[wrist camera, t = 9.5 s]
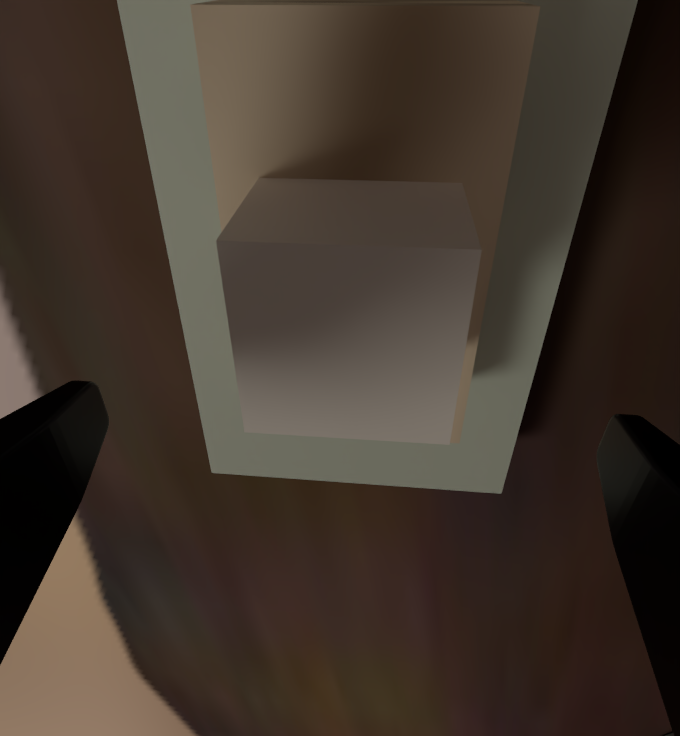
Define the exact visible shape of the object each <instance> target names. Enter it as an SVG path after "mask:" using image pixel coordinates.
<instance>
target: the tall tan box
mask: <svg viewBox="0 0 680 736" xmlns="http://www.w3.org/2000/svg"><path fill="white" fill-rule="evenodd" d="M190 7H191V14H192V21H193V28H194V36H195V43H196V50H197V58H198V65H199V72H200V80H201V87H202V94H203V101H204V109H205V116H206V123H207V131H208V138H209V145H210V152H211V160H212V167H213V174H214V182H215V189H216V196H217V204H218V211H219V218H220V225H221V232H222V231H223V230H224V228H225V227H226V225H227V224H228V222H229V221H230V219H231V218H232V216H233V215H234V213H235V212H236V210H237V209H238V208H239V206H240V205H241V203H242V202H243V200H244V199H245V197H246V196H247V194H248V193H249V191H250V190H251V188H252V187H253V186H254V184H255V183H256V181H257V180H258V178H290V179H330V180H369V181H408V182H448V183H462V184H463V187H464V191H465V194H466V197H467V201H468V204H469V208H470V211H471V215H472V218H473V221H474V225H475V228H476V232H477V235H478V238H479V242H480V245H481V249H482V252H481V258H480V264H479V270H478V276H477V282H476V288H475V294H474V300H473V306H472V312H471V318H470V324H469V330H468V336H467V342H466V348H465V354H464V360H463V366H462V373H461V379H460V385H459V391H458V397H457V403H456V409H455V415H454V421H453V427H452V433H451V439H450V443H460V437H461V432H462V427H463V421H464V416H465V411H466V405H467V400H468V394H469V389H470V384H471V378H472V373H473V367H474V362H475V357H476V351H477V346H478V340H479V335H480V330H481V324H482V319H483V313H484V308H485V303H486V297H487V292H488V287H489V281H490V276H491V270H492V265H493V260H494V254H495V249H496V243H497V238H498V233H499V227H500V222H501V216H502V211H503V206H504V200H505V195H506V189H507V184H508V179H509V173H510V168H511V163H512V157H513V152H514V146H515V141H516V136H517V130H518V125H519V119H520V114H521V109H522V103H523V98H524V92H525V87H526V82H527V76H528V71H529V65H530V60H531V55H532V49H533V44H534V38H535V33H536V28H537V22H538V17H539V12H540V6H536V5H532V4H529V3H525V2H521V1H517V0H215V1H209V2H203V3H197V4H190Z"/></svg>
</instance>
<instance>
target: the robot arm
mask: <svg viewBox="0 0 680 736" xmlns="http://www.w3.org/2000/svg"><path fill="white" fill-rule="evenodd" d="M108 425H109V417H108V413H107V410H106V407H105V404H104V401H103V398H102V395H101V392H100V389H99V387H98V385H97V384H96V383H94V382H91V381H70V382H68V383H66V384H64V385H62V386H61V387H59V388H57V389H55V390H53V391H51V392H49V393H48V394H46V395H44V396H42V397H40V398H38V399H36V400H35V401H33V402H31V403H29V404H27V405H25V406H23V407H22V408H20V409H18V410H16V411H14V412H12V413H11V414H9V415H7V416H5V417H3V418H1V419H0V664H1V662H2V660H3V658H4V656H5V654H6V652H7V650H8V648H9V646H10V644H11V642H12V640H13V638H14V636H15V634H16V632H17V630H18V628H19V626H20V624H21V622H22V620H23V618H24V616H25V614H26V612H27V610H28V608H29V606H30V604H31V602H32V600H33V598H34V596H35V594H36V592H37V590H38V588H39V586H40V584H41V582H42V580H43V578H44V575H45V574H46V572H47V570H48V568H49V566H50V564H51V562H52V560H53V558H54V556H55V553H56V551H57V549H58V547H59V545H60V543H61V541H62V539H63V537H64V535H65V533H66V531H67V529H68V527H69V525H70V523H71V521H72V519H73V517H74V515H75V513H76V511H77V509H78V507H79V505H80V502H81V500H82V498H83V495H84V493H85V490H86V488H87V485H88V482H89V479H90V477H91V474H92V471H93V468H94V466H95V463H96V460H97V457H98V455H99V452H100V449H101V446H102V444H103V441H104V438H105V435H106V433H107V430H108ZM597 464H598V469H599V475H600V480H601V485H602V490H603V495H604V501H605V506H606V511H607V516H608V522H609V527H610V532H611V536H612V541H613V545H614V548H615V552H616V555H617V558H618V561H619V565H620V568H621V571H622V574H623V577H624V580H625V583H626V587H627V590H628V593H629V596H630V599H631V602H632V605H633V608H634V612H635V615H636V618H637V621H638V624H639V627H640V630H641V634H642V637H643V640H644V643H645V646H646V649H647V652H648V656H649V659H650V662H651V665H652V668H653V671H654V674H655V678H656V681H657V684H658V687H659V690H660V693H661V696H662V699H663V703H664V706H665V709H666V712H667V715H668V718H669V721H670V725H671V728H672V731H673V734H674V736H680V445H679V444H678V443H676V442H675V441H674V440H672V439H671V438H670V437H668V436H667V435H666V434H664V433H663V432H662V431H660V430H659V429H658V428H656V427H655V426H654V425H652V424H651V423H650V422H648V421H647V420H646V419H644V418H643V417H641V416H638V415H626V414H616V415H614V416H612V417H611V419H610V421H609V423H608V425H607V428H606V430H605V432H604V435H603V437H602V440H601V442H600V445H599V447H598V451H597Z"/></svg>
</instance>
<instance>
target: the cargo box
mask: <svg viewBox="0 0 680 736" xmlns="http://www.w3.org/2000/svg"><path fill="white" fill-rule="evenodd" d="M216 244H217V251H218V258H219V265H220V271H221V278H222V285H223V292H224V298H225V305H226V312H227V318H228V325H229V332H230V339H231V345H232V352H233V359H234V366H235V372H236V379H237V386H238V392H239V399H240V406H241V413H242V419H243V426H244V432H247V433H263V434H280V435H296V436H313V437H329V438H345V439H362V440H378V441H395V442H411V443H427V444H444V445H450V439H451V433H452V427H453V421H454V415H455V409H456V403H457V397H458V391H459V385H460V379H461V373H462V366H463V360H464V354H465V348H466V342H467V336H468V330H469V324H470V318H471V312H472V306H473V300H474V294H475V288H476V282H477V276H478V270H479V264H480V258H481V252H482V249H481V245H480V242H479V238H478V235H477V232H476V228H475V225H474V221H473V218H472V215H471V211H470V208H469V204H468V201H467V197H466V194H465V191H464V187H463V184H462V183H448V182H408V181H369V180H330V179H290V178H258V180H257V181H256V183H255V184H254V186H253V187H252V188H251V190H250V191H249V193H248V194H247V196H246V197H245V199H244V200H243V202H242V203H241V205H240V206H239V208H238V209H237V210H236V212H235V213H234V215H233V216H232V218H231V219H230V221H229V222H228V224H227V225H226V227H225V228H224V230H223V231H222V232H221V234H220V235H219V237H218V238H217V240H216Z"/></svg>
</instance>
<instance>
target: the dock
mask: <svg viewBox="0 0 680 736" xmlns="http://www.w3.org/2000/svg"><path fill="white" fill-rule="evenodd" d="M209 1H215V0H117V3H118V8H119V13H120V18H121V23H122V28H123V33H124V38H125V43H126V48H127V53H128V58H129V63H130V68H131V73H132V78H133V83H134V88H135V93H136V98H137V103H138V108H139V113H140V118H141V123H142V128H143V133H144V138H145V143H146V148H147V153H148V158H149V163H150V168H151V173H152V178H153V182H154V187H155V192H156V197H157V202H158V207H159V212H160V217H161V222H162V227H163V232H164V237H165V242H166V247H167V252H168V257H169V262H170V267H171V272H172V277H173V282H174V287H175V292H176V297H177V302H178V307H179V312H180V317H181V322H182V327H183V332H184V337H185V342H186V347H187V352H188V357H189V362H190V367H191V372H192V377H193V382H194V387H195V392H196V397H197V402H198V407H199V412H200V417H201V422H202V427H203V432H204V437H205V442H206V447H207V452H208V457H209V462H210V467H211V472H212V473H222V474H236V475H250V476H264V477H278V478H292V479H305V480H319V481H333V482H347V483H361V484H375V485H389V486H402V487H416V488H430V489H444V490H458V491H472V492H486V493H499V494H501V493H502V489H503V485H504V482H505V478H506V475H507V471H508V467H509V464H510V460H511V457H512V453H513V449H514V446H515V442H516V439H517V435H518V431H519V428H520V424H521V421H522V417H523V413H524V410H525V406H526V402H527V399H528V395H529V392H530V388H531V384H532V381H533V377H534V374H535V370H536V366H537V363H538V359H539V356H540V352H541V348H542V345H543V341H544V337H545V334H546V330H547V327H548V323H549V319H550V316H551V312H552V309H553V305H554V301H555V298H556V294H557V291H558V287H559V283H560V280H561V276H562V273H563V269H564V265H565V262H566V258H567V254H568V251H569V247H570V244H571V240H572V236H573V233H574V229H575V226H576V222H577V218H578V215H579V211H580V208H581V204H582V200H583V197H584V193H585V190H586V186H587V182H588V179H589V175H590V171H591V168H592V164H593V161H594V157H595V153H596V150H597V146H598V143H599V139H600V135H601V132H602V128H603V125H604V121H605V117H606V114H607V110H608V107H609V103H610V99H611V96H612V92H613V88H614V85H615V81H616V78H617V74H618V70H619V67H620V63H621V60H622V56H623V52H624V49H625V45H626V42H627V38H628V34H629V31H630V27H631V23H632V20H633V16H634V13H635V9H636V5H637V2H638V0H517V1H521V2H525V3H529V4H532V5H536V6H540V12H539V17H538V22H537V28H536V33H535V38H534V44H533V49H532V55H531V60H530V65H529V71H528V76H527V82H526V87H525V92H524V98H523V103H522V109H521V114H520V119H519V125H518V130H517V136H516V141H515V146H514V152H513V157H512V163H511V168H510V173H509V179H508V184H507V189H506V195H505V200H504V206H503V211H502V216H501V222H500V227H499V233H498V238H497V243H496V249H495V254H494V260H493V265H492V270H491V276H490V281H489V287H488V292H487V297H486V303H485V308H484V313H483V319H482V324H481V330H480V335H479V340H478V346H477V351H476V357H475V362H474V367H473V373H472V378H471V384H470V389H469V394H468V400H467V405H466V411H465V416H464V421H463V427H462V432H461V437H460V443H450V445H444V444H427V443H411V442H395V441H378V440H362V439H345V438H329V437H313V436H296V435H280V434H263V433H247V432H244V426H243V419H242V413H241V406H240V399H239V392H238V386H237V379H236V372H235V366H234V359H233V352H232V345H231V339H230V332H229V325H228V318H227V312H226V305H225V298H224V292H223V285H222V278H221V271H220V265H219V258H218V251H217V244H216V240H217V238H218V237H219V235H220V234H221V225H220V218H219V211H218V204H217V196H216V189H215V182H214V174H213V167H212V160H211V152H210V145H209V138H208V131H207V123H206V116H205V109H204V101H203V94H202V87H201V80H200V72H199V65H198V58H197V50H196V43H195V36H194V28H193V21H192V14H191V7H190V4H197V3H203V2H209Z"/></svg>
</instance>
